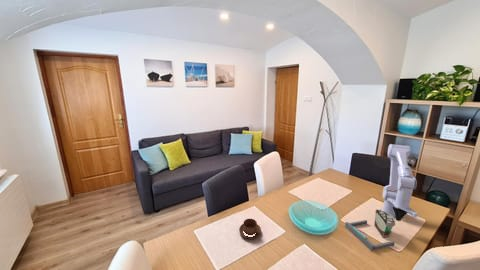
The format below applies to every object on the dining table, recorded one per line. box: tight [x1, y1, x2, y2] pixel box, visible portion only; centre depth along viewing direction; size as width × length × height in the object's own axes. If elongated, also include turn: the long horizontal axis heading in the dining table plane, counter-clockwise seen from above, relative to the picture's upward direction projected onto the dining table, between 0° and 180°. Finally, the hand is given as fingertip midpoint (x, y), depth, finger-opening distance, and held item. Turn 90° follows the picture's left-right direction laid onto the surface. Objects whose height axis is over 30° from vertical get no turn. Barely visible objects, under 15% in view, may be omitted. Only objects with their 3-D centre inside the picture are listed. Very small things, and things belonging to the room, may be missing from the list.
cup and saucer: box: [238, 218, 262, 240], centre depth 103 cm, size 12×12×6 cm
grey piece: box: [344, 219, 395, 252], centre depth 101 cm, size 14×17×4 cm
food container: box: [373, 209, 396, 239], centre depth 102 cm, size 12×6×10 cm, turn 168°
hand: (398, 220), depth 104 cm, fingers closed
